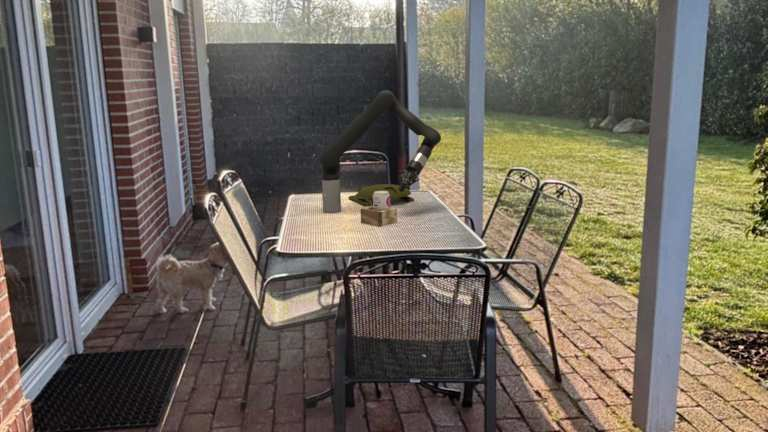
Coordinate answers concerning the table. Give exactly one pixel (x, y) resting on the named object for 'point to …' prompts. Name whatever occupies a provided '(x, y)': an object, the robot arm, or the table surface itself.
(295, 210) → the table surface
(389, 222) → the cradle
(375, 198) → the supplement can
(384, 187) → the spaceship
